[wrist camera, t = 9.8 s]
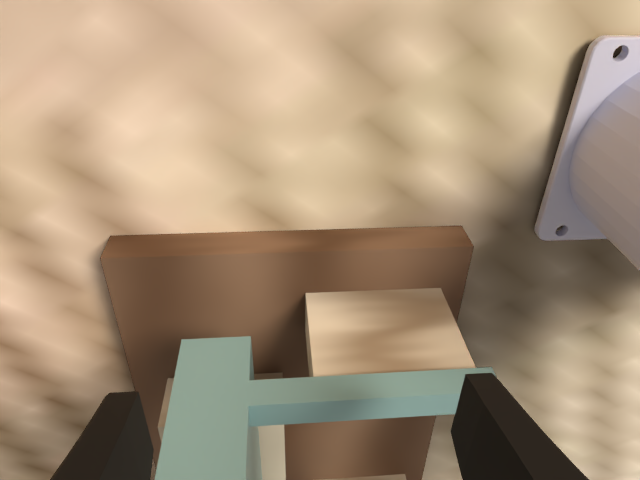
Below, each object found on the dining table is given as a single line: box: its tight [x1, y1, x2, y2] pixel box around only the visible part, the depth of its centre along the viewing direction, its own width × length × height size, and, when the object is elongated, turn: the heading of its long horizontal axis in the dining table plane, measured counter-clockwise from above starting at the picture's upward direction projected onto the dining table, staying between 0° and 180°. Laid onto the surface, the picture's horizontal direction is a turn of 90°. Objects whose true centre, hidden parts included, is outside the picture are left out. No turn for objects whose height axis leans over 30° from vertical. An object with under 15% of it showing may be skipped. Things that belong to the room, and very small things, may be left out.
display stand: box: [100, 226, 476, 480], centre depth 23 cm, size 14×19×6 cm
